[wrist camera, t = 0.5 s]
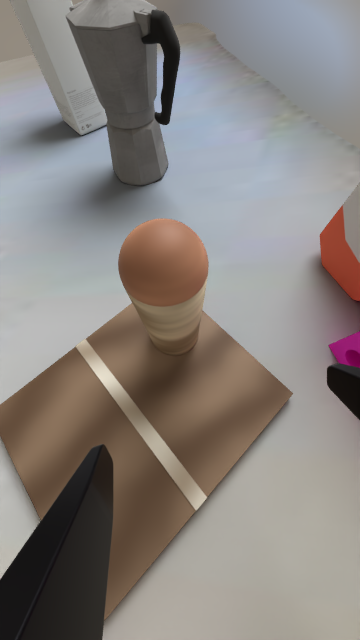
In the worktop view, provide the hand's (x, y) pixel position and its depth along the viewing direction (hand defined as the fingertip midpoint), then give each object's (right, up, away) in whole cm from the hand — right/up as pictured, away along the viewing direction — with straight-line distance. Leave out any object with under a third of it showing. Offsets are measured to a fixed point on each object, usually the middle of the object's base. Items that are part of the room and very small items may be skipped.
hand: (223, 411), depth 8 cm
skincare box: (-21, +43, +34) cm, 58 cm away
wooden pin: (-2, +2, +14) cm, 14 cm away
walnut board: (-5, -5, +12) cm, 14 cm away
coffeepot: (-7, +28, +27) cm, 40 cm away
